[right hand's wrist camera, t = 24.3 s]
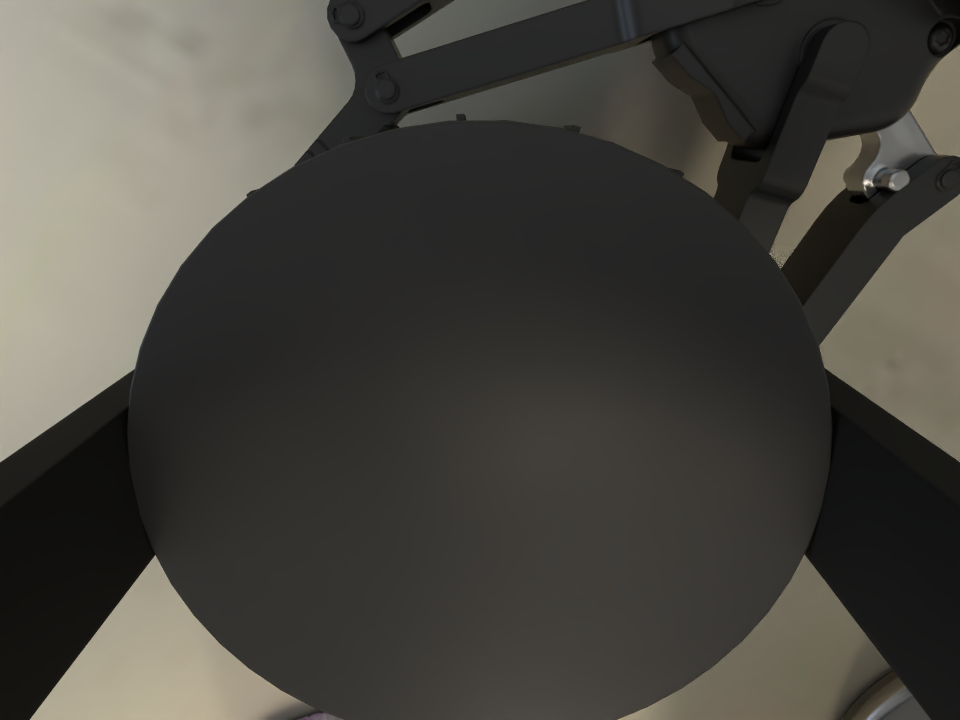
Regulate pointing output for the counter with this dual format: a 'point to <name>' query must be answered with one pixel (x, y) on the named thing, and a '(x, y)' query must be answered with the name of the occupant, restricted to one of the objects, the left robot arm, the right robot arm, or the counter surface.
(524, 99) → the counter surface
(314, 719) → the figurine
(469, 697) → the lid
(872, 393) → the counter surface
